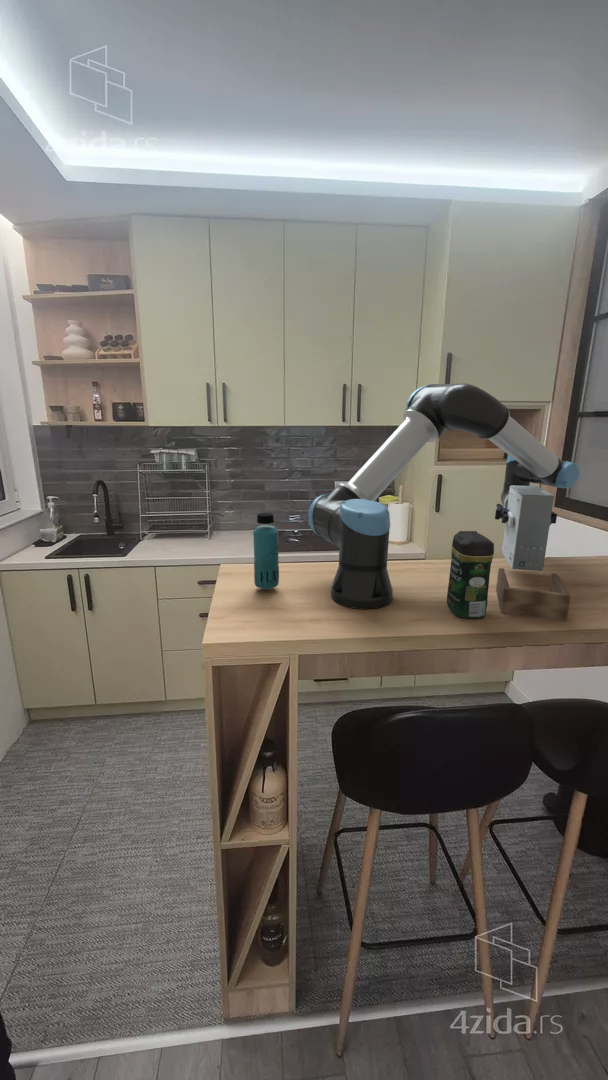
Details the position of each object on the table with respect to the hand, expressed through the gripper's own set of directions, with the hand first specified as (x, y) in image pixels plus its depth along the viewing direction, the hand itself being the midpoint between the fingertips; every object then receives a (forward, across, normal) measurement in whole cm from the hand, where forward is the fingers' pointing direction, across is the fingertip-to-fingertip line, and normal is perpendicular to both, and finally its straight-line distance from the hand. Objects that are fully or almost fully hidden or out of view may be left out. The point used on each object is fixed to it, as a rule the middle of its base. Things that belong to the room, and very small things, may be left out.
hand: (529, 523), depth 119 cm
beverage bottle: (+25, +63, -16) cm, 70 cm away
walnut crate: (+14, 0, -16) cm, 22 cm away
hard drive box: (-5, 0, -12) cm, 13 cm away
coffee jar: (+23, +15, -16) cm, 32 cm away
